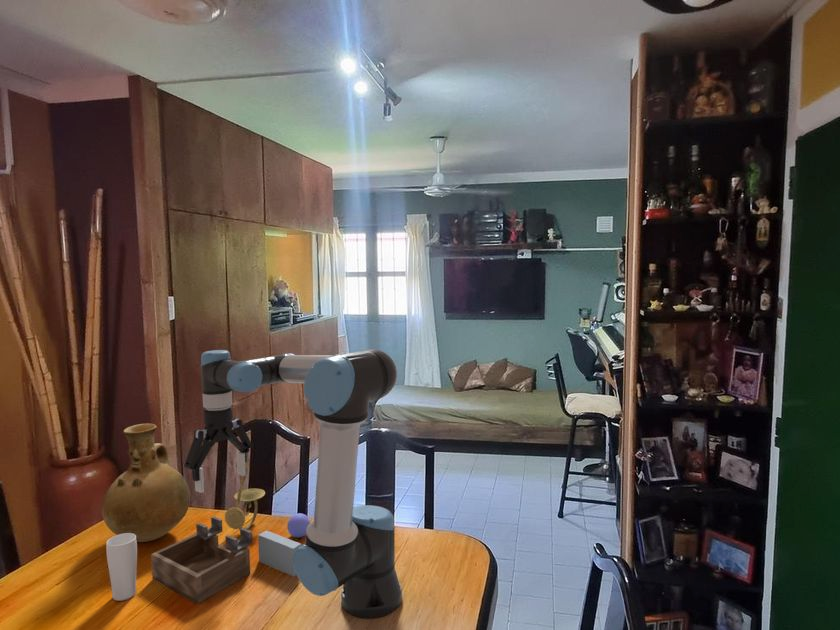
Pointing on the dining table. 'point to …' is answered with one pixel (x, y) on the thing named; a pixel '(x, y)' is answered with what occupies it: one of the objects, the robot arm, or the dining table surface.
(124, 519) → the vase
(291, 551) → the door
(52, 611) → the dining table surface
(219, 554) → the box
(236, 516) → the wall sconce
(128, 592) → the drinking glass
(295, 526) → the sphere
